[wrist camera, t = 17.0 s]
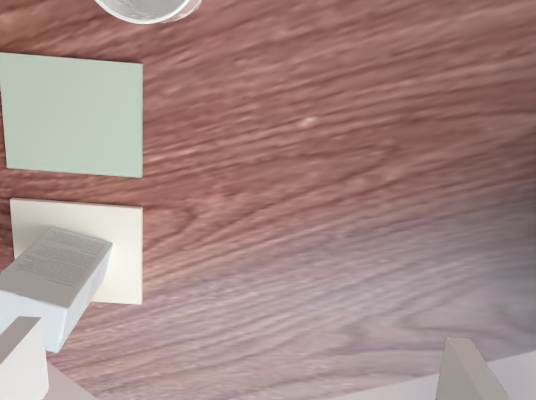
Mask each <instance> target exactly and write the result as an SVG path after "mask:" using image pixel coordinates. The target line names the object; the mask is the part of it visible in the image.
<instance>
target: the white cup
mask: <svg viewBox="0 0 536 400" xmlns="http://www.w3.org/2000/svg"><path fill="white" fill-rule="evenodd" d="M95 1H96V2H97V3H98V4H99V5H100V6H101V7H102V8H103V9H104V10H106V11H107V12H108V13H110V14H111V15H113V16H115V17H117V18H119V19H121V20H124V21H127V22H131V23H137V24H152V23H167V22H173V21H176V20H179V19H184V18H185V17H187V16H188V15H190V14H191V13H192V12H194V11H195V10H197V9H198V8H199V6H200V4H201V2H202V1H203V0H95Z"/></svg>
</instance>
